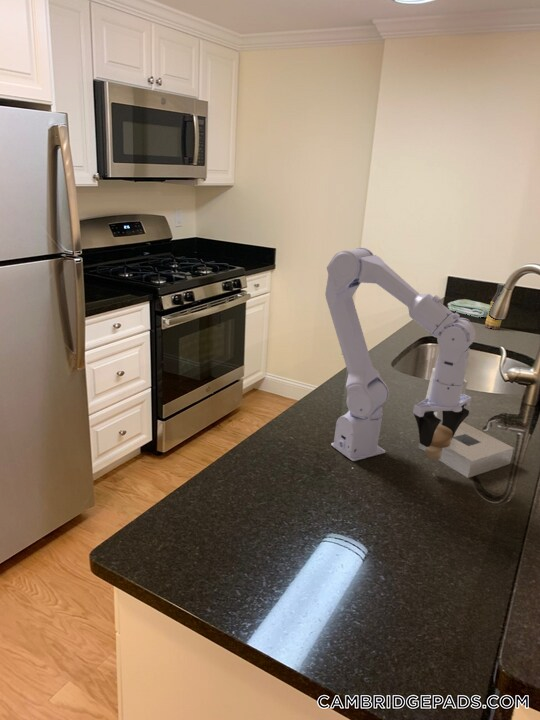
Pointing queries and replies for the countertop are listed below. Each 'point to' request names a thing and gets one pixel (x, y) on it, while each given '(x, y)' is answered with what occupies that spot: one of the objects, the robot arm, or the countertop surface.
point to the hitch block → (474, 452)
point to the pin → (439, 442)
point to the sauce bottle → (489, 321)
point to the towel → (469, 307)
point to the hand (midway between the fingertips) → (435, 441)
